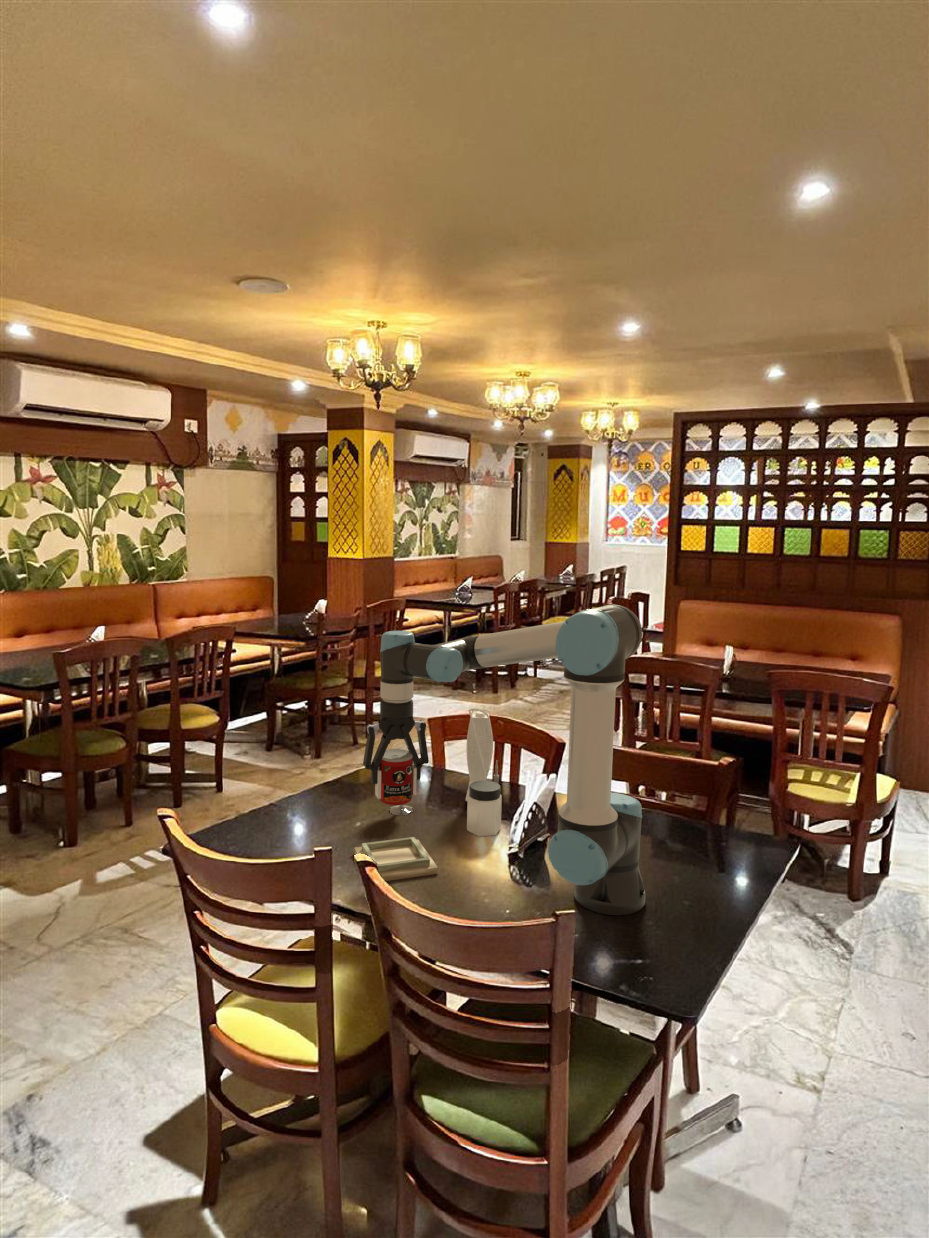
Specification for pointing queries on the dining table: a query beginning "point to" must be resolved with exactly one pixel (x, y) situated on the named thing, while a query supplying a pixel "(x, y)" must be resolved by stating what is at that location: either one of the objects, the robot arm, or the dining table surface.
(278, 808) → the dining table surface
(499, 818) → the jar
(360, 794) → the dining table surface
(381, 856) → the holder
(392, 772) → the canned food
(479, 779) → the white vase
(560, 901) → the dining table surface
